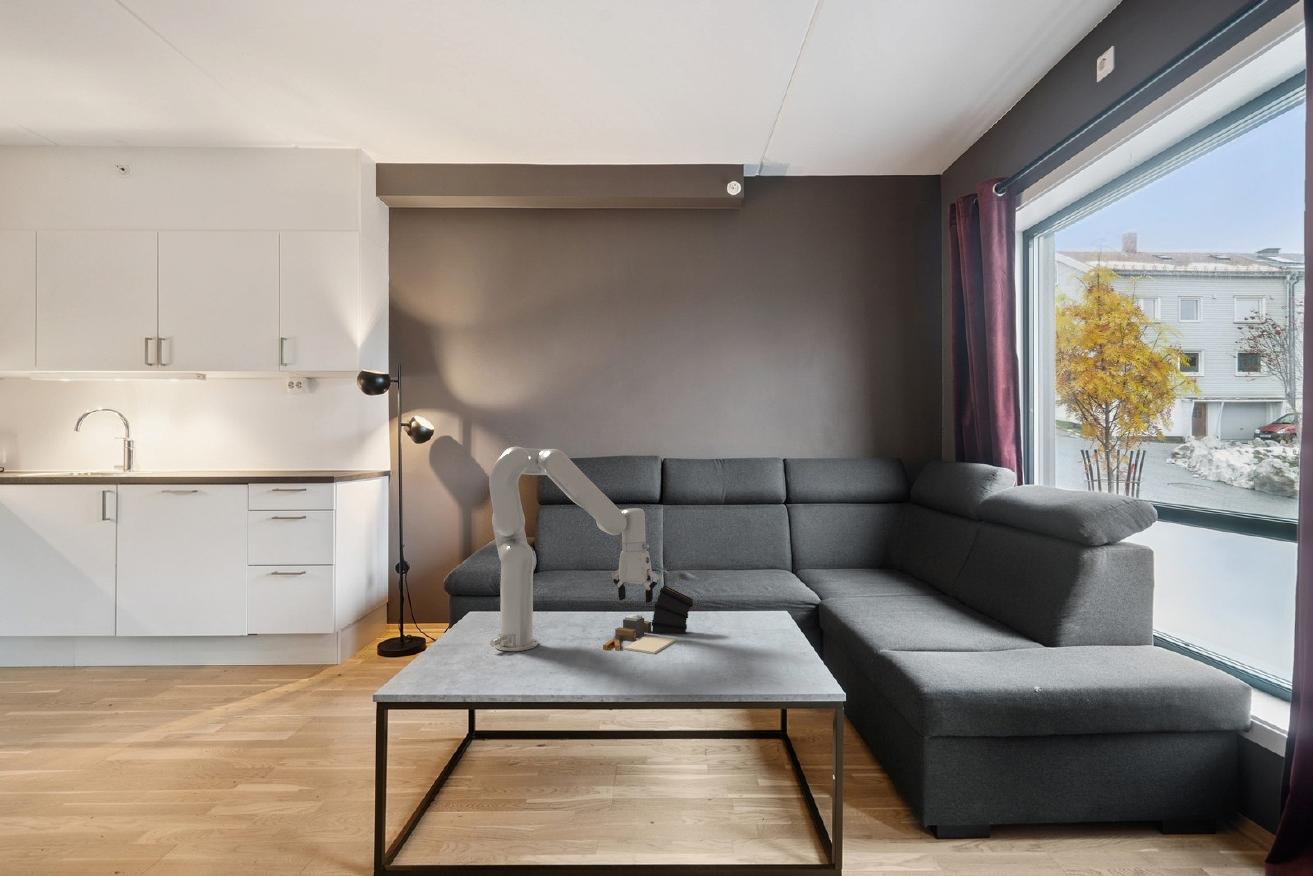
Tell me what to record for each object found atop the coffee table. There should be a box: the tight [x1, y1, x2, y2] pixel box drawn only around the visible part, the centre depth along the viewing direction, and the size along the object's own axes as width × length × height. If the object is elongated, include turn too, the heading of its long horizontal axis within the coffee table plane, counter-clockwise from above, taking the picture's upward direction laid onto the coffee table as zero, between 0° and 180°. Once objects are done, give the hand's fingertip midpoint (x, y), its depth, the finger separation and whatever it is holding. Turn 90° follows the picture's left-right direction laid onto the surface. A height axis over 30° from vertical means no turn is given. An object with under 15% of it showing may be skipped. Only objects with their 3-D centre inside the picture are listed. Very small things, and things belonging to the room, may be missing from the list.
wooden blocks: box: [614, 620, 652, 642], centre depth 207 cm, size 13×6×3 cm, turn 153°
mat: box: [623, 635, 676, 655], centre depth 195 cm, size 14×10×1 cm
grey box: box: [622, 613, 645, 639], centre depth 207 cm, size 5×5×6 cm
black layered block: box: [651, 584, 694, 635], centre depth 210 cm, size 4×13×15 cm, turn 87°
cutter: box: [602, 635, 622, 651], centre depth 196 cm, size 11×5×1 cm, turn 173°
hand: (635, 600), depth 208 cm, fingers open, 9 cm apart
